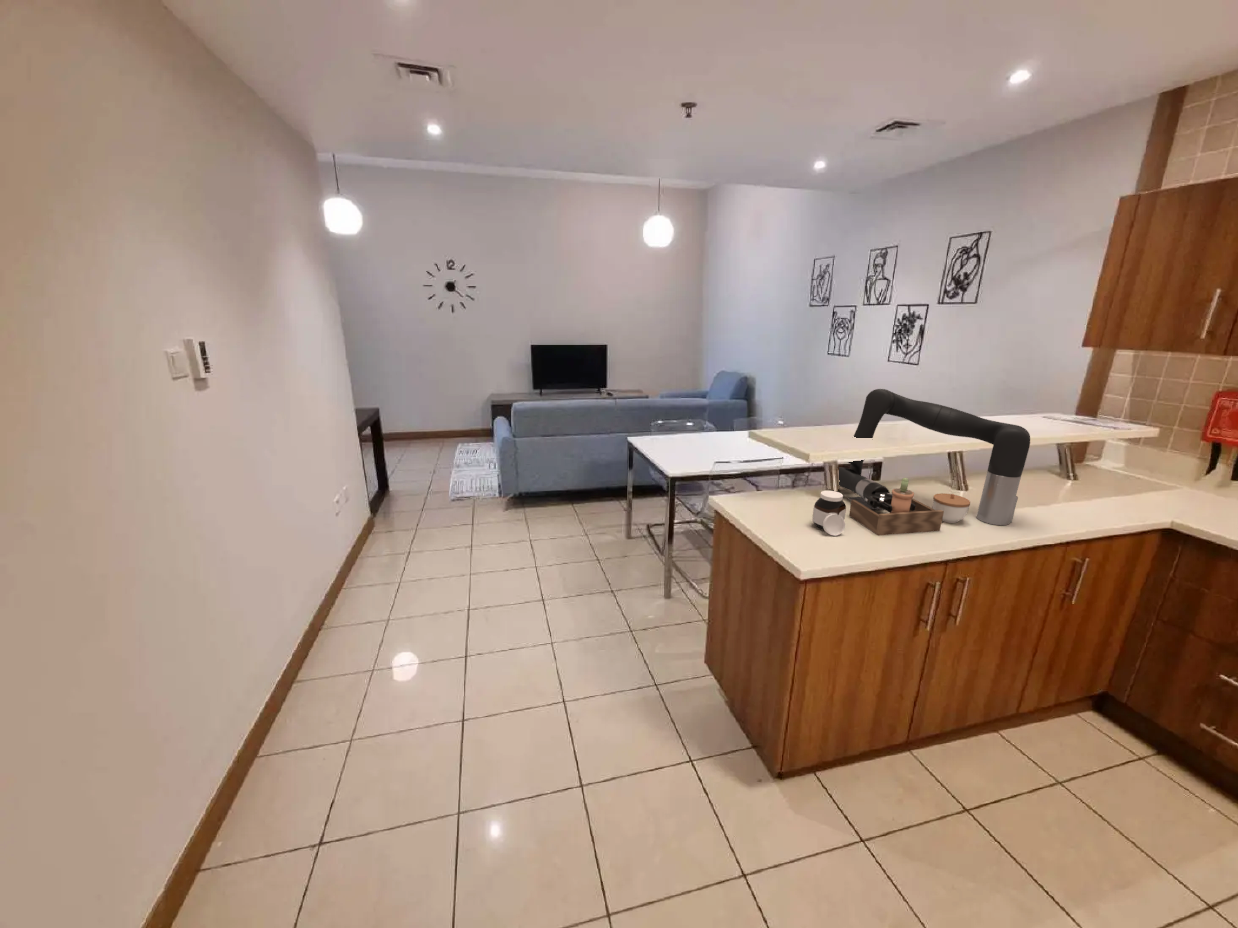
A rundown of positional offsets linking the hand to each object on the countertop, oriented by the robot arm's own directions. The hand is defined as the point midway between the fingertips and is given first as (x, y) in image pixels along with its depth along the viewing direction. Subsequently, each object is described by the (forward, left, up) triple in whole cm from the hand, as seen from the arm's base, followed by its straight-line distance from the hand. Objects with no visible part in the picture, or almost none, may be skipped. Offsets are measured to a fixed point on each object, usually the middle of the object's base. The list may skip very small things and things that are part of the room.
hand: (902, 508), depth 166 cm
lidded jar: (-21, -3, -7) cm, 22 cm away
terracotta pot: (0, -1, -7) cm, 7 cm away
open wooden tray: (0, -3, -7) cm, 7 cm away
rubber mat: (-5, -20, -7) cm, 22 cm away
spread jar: (+24, -2, -7) cm, 25 cm away
